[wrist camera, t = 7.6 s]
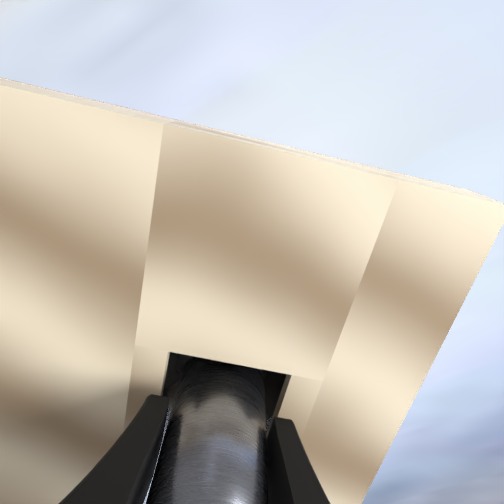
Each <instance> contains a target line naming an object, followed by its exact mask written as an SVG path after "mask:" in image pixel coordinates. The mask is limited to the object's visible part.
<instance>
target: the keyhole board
mask: <svg viewBox="0 0 504 504" xmlns="http://www.w3.org/2000/svg"><path fill="white" fill-rule="evenodd" d="M503 223H504V203H501V202H499V201H496V200H494V199H491V198H489V197H486V196H484V195H481V194H479V193H476V192H474V191H471V190H467V189H463V188H459V187H455V186H451V185H447V184H442V183H438V182H434V181H430V180H426V179H421V178H417V177H413V176H409V175H405V174H401V173H396V172H392V171H388V170H384V169H380V168H376V167H371V166H367V165H363V164H359V163H355V162H351V161H346V160H342V159H338V158H334V157H330V156H326V155H321V154H317V153H313V152H309V151H305V150H301V149H296V148H292V147H288V146H284V145H280V144H275V143H271V142H267V141H263V140H259V139H255V138H250V137H246V136H242V135H238V134H234V133H230V132H225V131H221V130H217V129H213V128H209V127H205V126H200V125H196V124H192V123H188V122H184V121H180V120H175V119H171V118H167V117H163V116H159V115H155V114H150V113H146V112H142V111H138V110H134V109H130V108H125V107H121V106H117V105H113V104H109V103H104V102H100V101H96V100H92V99H88V98H84V97H79V96H75V95H71V94H67V93H63V92H59V91H54V90H50V89H46V88H42V87H38V86H34V85H29V84H25V83H21V82H17V81H13V80H9V79H4V78H0V504H59V503H60V502H61V501H62V500H63V499H64V498H65V497H66V496H67V495H68V494H69V493H70V492H71V491H72V490H73V489H74V488H75V487H76V486H77V485H78V484H79V483H80V482H81V481H82V480H83V479H84V477H85V476H86V475H87V474H88V473H89V472H90V471H91V470H92V469H93V468H94V467H95V465H96V464H97V463H98V462H99V461H100V460H101V459H102V457H103V456H104V455H105V454H106V453H107V452H108V451H109V449H110V448H111V447H112V446H113V445H114V443H115V442H116V441H117V440H118V438H119V437H120V436H121V434H122V433H123V432H124V431H125V429H126V428H127V427H128V425H129V424H130V423H131V421H132V420H133V419H134V417H135V416H136V414H137V413H138V411H139V410H140V408H141V407H142V405H143V403H144V402H145V400H146V398H147V396H149V395H151V394H154V395H159V396H162V394H163V389H164V383H165V377H166V372H167V366H168V360H169V354H170V352H174V353H179V354H184V355H189V356H195V357H200V358H205V359H210V360H216V361H221V362H226V363H231V364H236V365H242V366H247V367H252V368H257V369H263V370H268V371H273V372H278V373H283V374H286V377H285V380H284V383H283V387H282V390H281V393H280V396H279V399H278V402H277V405H276V408H275V411H274V414H273V417H272V420H271V423H270V426H269V429H268V432H267V435H266V439H267V436H268V433H269V430H270V427H271V424H272V421H273V418H274V417H280V418H285V419H291V420H292V421H293V422H294V424H295V427H296V430H297V432H298V435H299V437H300V440H301V442H302V444H303V447H304V449H305V451H306V454H307V456H308V458H309V461H310V463H311V465H312V467H313V469H314V471H315V474H316V476H317V478H318V480H319V482H320V484H321V486H322V488H323V490H324V492H325V494H326V496H327V498H328V500H329V502H330V503H331V504H361V503H362V501H363V499H364V497H365V495H366V493H367V491H368V489H369V487H370V485H371V483H372V481H373V479H374V477H375V475H376V473H377V471H378V470H379V468H380V466H381V464H382V462H383V460H384V458H385V456H386V454H387V452H388V450H389V448H390V446H391V444H392V442H393V440H394V438H395V436H396V434H397V432H398V430H399V428H400V426H401V424H402V422H403V420H404V418H405V416H406V414H407V412H408V410H409V408H410V406H411V405H412V403H413V401H414V399H415V397H416V395H417V393H418V391H419V389H420V387H421V385H422V383H423V381H424V379H425V377H426V375H427V373H428V371H429V369H430V367H431V365H432V363H433V361H434V359H435V357H436V355H437V353H438V351H439V349H440V347H441V345H442V343H443V341H444V339H445V338H446V336H447V334H448V332H449V330H450V328H451V326H452V324H453V322H454V320H455V318H456V316H457V314H458V312H459V310H460V308H461V306H462V304H463V302H464V300H465V298H466V296H467V294H468V292H469V290H470V288H471V286H472V284H473V282H474V280H475V278H476V276H477V274H478V273H479V271H480V269H481V267H482V265H483V263H484V261H485V259H486V257H487V255H488V253H489V251H490V249H491V247H492V245H493V243H494V241H495V239H496V237H497V235H498V233H499V231H500V229H501V227H502V225H503Z"/></svg>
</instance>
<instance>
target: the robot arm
mask: <svg viewBox="0 0 504 504" xmlns="http://www.w3.org/2000/svg"><path fill="white" fill-rule="evenodd" d="M169 400H170V397H165V396H159V395H154V394H151V395H149V396H147V398H146V400H145V402H144V403H143V405H142V407H141V408H140V410H139V411H138V413H137V414H136V416H135V417H134V419H133V420H132V421H131V423H130V424H129V425H128V427H127V428H126V429H125V431H124V432H123V433H122V434H121V436H120V437H119V438H118V440H117V441H116V442H115V443H114V445H113V446H112V447H111V448H110V449H109V451H108V452H107V453H106V454H105V455H104V456H103V457H102V459H101V460H100V461H99V462H98V463H97V464H96V465H95V467H94V468H93V469H92V470H91V471H90V472H89V473H88V474H87V475H86V476H85V477H84V479H83V480H82V481H81V482H80V483H79V484H78V485H77V486H76V487H75V488H74V489H73V490H72V491H71V492H70V493H69V494H68V495H67V496H66V497H65V498H64V499H63V500H62V501H61V502H60V503H59V504H143V503H144V500H145V497H146V494H147V491H148V488H149V486H150V483H151V480H152V477H153V474H154V470H155V466H156V462H157V458H158V455H159V451H160V447H161V443H162V438H163V432H164V427H165V422H166V416H167V411H168V406H169ZM266 445H267V475H268V504H331V503H330V502H329V500H328V498H327V496H326V494H325V492H324V490H323V488H322V486H321V484H320V482H319V480H318V478H317V476H316V474H315V471H314V469H313V467H312V465H311V463H310V461H309V458H308V456H307V454H306V451H305V449H304V447H303V444H302V442H301V440H300V437H299V435H298V432H297V430H296V427H295V424H294V422H293V421H292V420H291V419H285V418H280V417H274V418H273V421H272V424H271V427H270V430H269V433H268V436H267V439H266Z"/></svg>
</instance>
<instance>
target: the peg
mask: <svg viewBox="0 0 504 504" xmlns="http://www.w3.org/2000/svg"><path fill="white" fill-rule="evenodd" d="M285 377H286V374H283V373H278V372H273V371H268V370H263V369H257V368H252V367H247V366H242V365H236V364H231V363H226V362H221V361H216V360H210V359H205V358H200V357H195V356H189V355H184V354H179V353H174V352H170V354H169V360H168V366H167V372H166V377H165V383H164V389H163V394H162V396H165V397H170V400H169V406H168V408H169V409H170V410H171V414H170V418H169V421H168V425H167V429H166V432H165V436H164V440H163V443H162V447H161V451H160V454H159V458H158V462H157V465H156V469H155V472H154V476H153V480H152V483H151V487H150V491H149V494H148V498H147V502H146V504H268V475H267V445H266V420H268V419H269V418H270V417H271V416H273V414H274V411H275V408H276V405H277V402H278V399H279V396H280V393H281V390H282V387H283V383H284V380H285Z"/></svg>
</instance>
